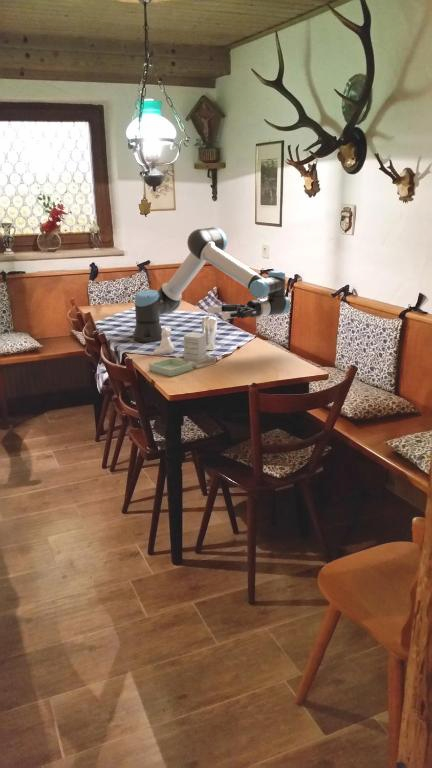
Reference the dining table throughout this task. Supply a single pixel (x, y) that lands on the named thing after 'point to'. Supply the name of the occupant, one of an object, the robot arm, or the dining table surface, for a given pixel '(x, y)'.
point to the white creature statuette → (165, 343)
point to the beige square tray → (200, 364)
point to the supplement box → (195, 347)
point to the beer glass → (209, 331)
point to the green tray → (170, 367)
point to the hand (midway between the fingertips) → (215, 313)
